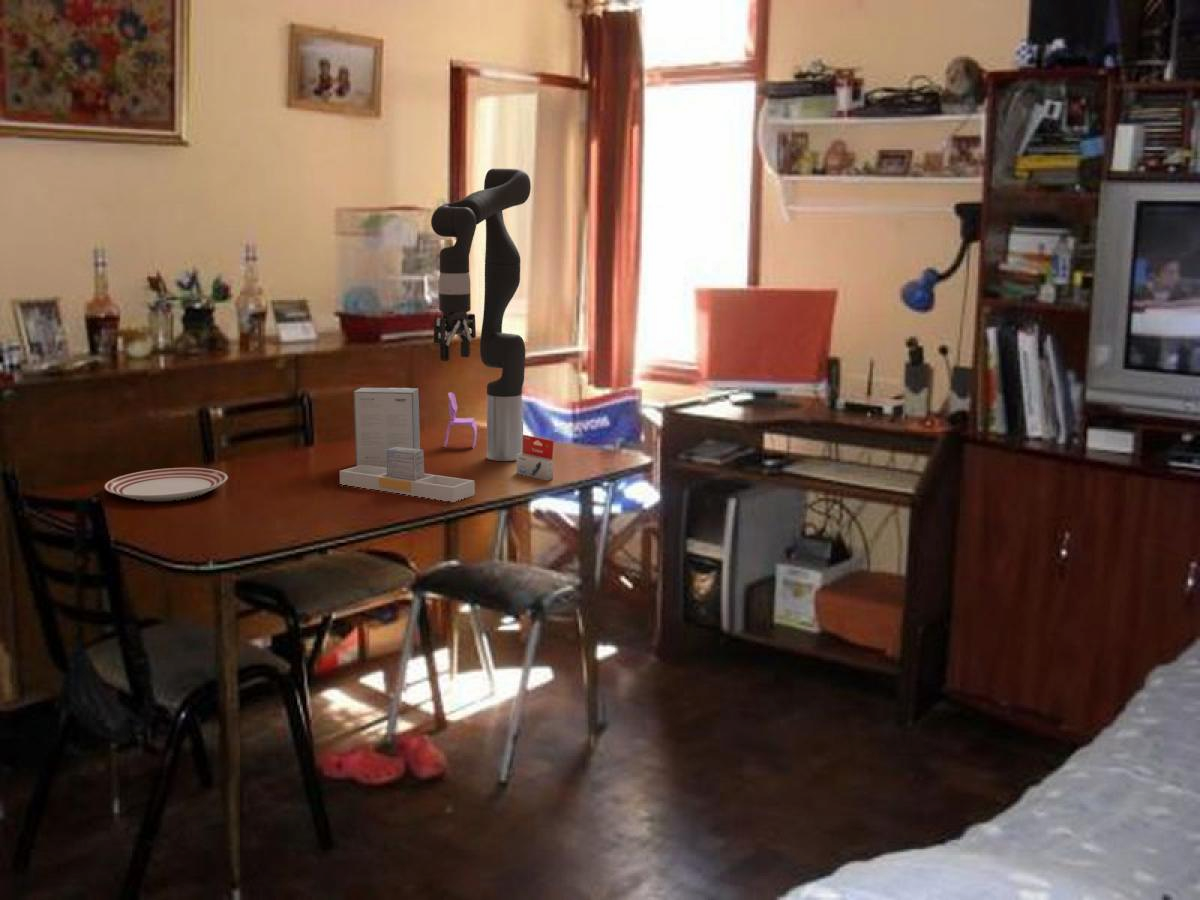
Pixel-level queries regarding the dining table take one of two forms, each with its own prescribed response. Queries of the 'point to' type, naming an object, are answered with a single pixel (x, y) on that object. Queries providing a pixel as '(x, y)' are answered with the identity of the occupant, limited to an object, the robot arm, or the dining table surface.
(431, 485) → the compartment tray
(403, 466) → the medicine box
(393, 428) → the hard drive box
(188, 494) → the dinner plate
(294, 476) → the dining table surface
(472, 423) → the toy chair
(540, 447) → the ink cartridge box
